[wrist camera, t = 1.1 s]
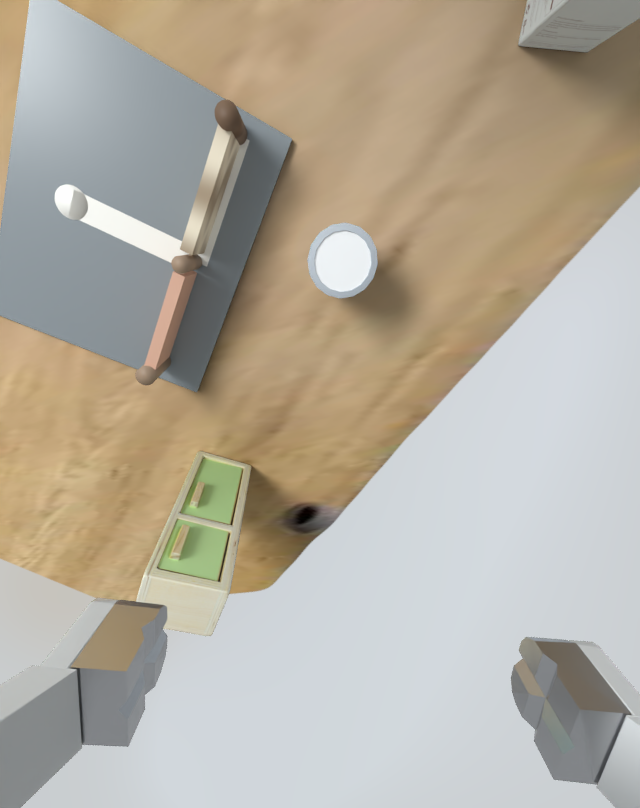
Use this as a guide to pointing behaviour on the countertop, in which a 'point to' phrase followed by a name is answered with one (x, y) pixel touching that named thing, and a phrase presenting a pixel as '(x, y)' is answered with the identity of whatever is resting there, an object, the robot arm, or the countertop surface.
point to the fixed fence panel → (214, 177)
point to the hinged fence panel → (169, 318)
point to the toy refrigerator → (199, 546)
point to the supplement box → (575, 22)
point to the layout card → (120, 195)
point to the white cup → (342, 260)
